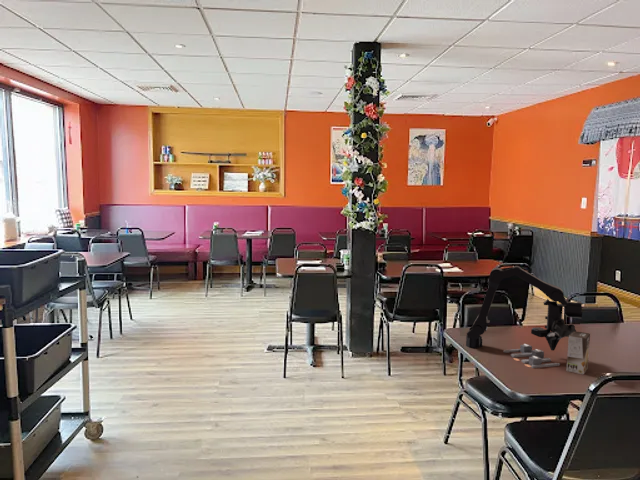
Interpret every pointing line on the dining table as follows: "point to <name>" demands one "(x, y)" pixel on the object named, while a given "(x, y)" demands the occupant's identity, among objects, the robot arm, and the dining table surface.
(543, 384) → the dining table surface
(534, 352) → the tab
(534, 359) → the tab
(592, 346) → the dining table surface
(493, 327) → the dining table surface
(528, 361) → the switch board
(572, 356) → the coffee box
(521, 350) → the tab
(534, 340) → the dining table surface
